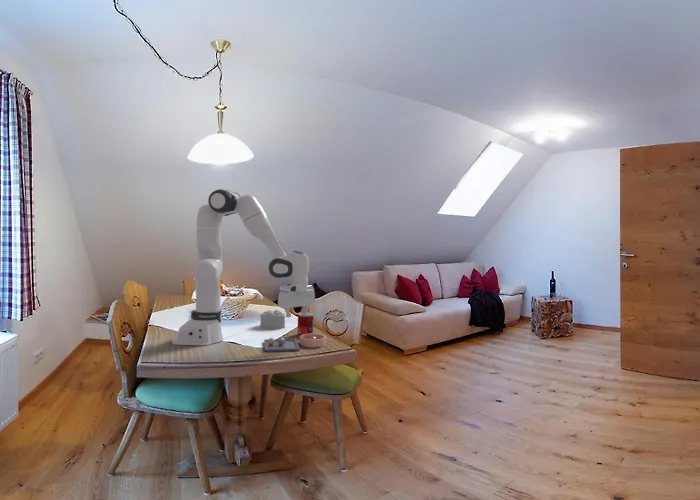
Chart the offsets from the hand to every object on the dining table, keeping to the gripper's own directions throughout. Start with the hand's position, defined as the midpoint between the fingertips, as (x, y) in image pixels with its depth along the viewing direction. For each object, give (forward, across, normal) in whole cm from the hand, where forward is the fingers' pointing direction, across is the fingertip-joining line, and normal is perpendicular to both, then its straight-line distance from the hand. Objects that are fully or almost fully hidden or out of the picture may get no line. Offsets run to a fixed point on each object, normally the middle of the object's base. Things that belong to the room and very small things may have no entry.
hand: (296, 316), depth 192 cm
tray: (+14, +5, -3) cm, 15 cm away
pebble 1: (+12, +9, -6) cm, 16 cm away
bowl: (+14, -8, +4) cm, 16 cm away
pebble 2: (+12, +5, -3) cm, 13 cm away
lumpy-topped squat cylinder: (+14, -17, -35) cm, 41 cm away
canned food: (+14, -17, -11) cm, 25 cm away
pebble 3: (+11, -7, +5) cm, 14 cm away
